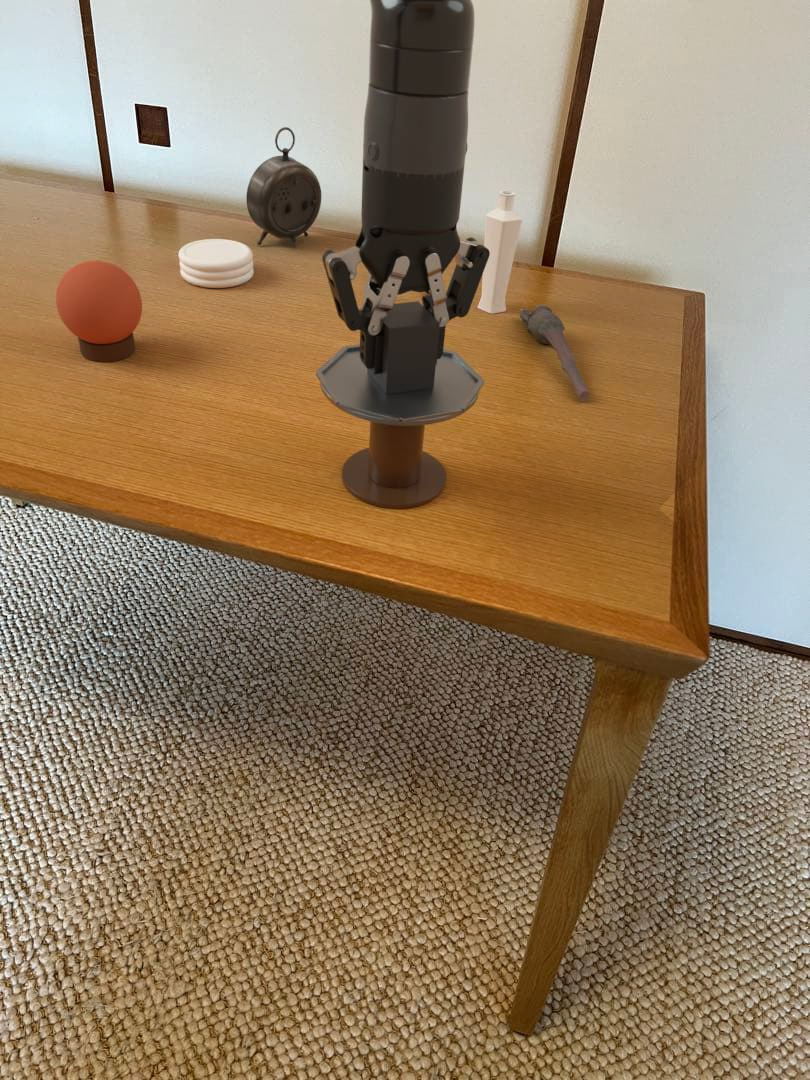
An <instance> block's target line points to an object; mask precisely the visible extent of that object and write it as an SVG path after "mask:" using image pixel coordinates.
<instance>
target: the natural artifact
mask: <svg viewBox="0 0 810 1080" xmlns="http://www.w3.org/2000/svg"><path fill="white" fill-rule="evenodd" d="M519 311H520V312H519V318H520V319H521V320H522V322H523V324H525V325H526V326H528V327H527V328H526V332H527V333H528V334H532V337H533V339H534V340H535V341H537V342H538V343H540V344H547V345H550V344H551V346H552V348H553V349H554V351H555V353H556V355H557V358H558V360H559V362H560V365H561V370H563V371H564V372H565V374H567V377H568V378H569V380H570V382H571V385H572V387H573V389H574V391H575V393H576V395H577V397H578V398H579V401H581V402H583V403H585V402H588V401H589V399H590V395H591V393H590V391H589V389H588V388H587V387H588V386H587V385H586V383H585V382H584V379H583V378H582V375H581V374H580V371H579V369H578V366H577V363H576V358H575V355H574V354H573V352H572V350H571V347H570V345H569V343H568V341H567V339H566V337H565V335H564V330H566V327H565V326H564V323H563V321H562V320H561V318H560V317H559V316H558V315H557V314H555V313H554V312H553V310H552V309H551V308H550V307H548V305H543V304H538V305H536V306H535V308H534V309H532V310H529V309H528V308H526V309H523V308H521V309H520V310H519Z"/></svg>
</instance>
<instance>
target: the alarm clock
mask: <svg viewBox="0 0 810 1080" xmlns="http://www.w3.org/2000/svg"><path fill="white" fill-rule="evenodd" d="M285 130H286V131H288V132H290V134H291V136H292V142H291V146H290V147H289V148H287V147H284V148H282V149H281V148H280V147H279V144H278V138H279V136H280V134H281V133H282V132H283V131H285ZM295 143H296V136H295V133H294V131H293V129H291V128H290V127H287V126H284V127H281V128H280V129H278V131H277V132H276V134H275V138H274V144H275V147H276V149H277V150H278V151H279V152H280V153H282V155H275V156H272V157H270V158H268V159H267V160H264V161H263V162H262V163H260V165H258V167H257V168H256V169H255V170H254V172H253V173H252V175H251V177H250V179H249V182H248V185H247V191H246V196H245V197H246V199H245V200H246V209H247V211H248V215H249V217H250V218H251V220H252V222H253V223H254V224H255V225H256V226H257V227H259V228H260V229H262V233H261V235H260V238H259V240H257V245H258V246H261V245H262V242H263V241H264V240H265V239H266V237H267V236H268V234H270V235H271V236H273V237H274V238H277V239H281V240H290V243H291V246H292V247H293V248H296V247H297V243H296V238H297V237H299V236H301V235H303V236H304V237H306V238H307V237H309V233H308V230H309V229H310V228H311V227H312V225H313V224H314V222H315V221H316V219H317V218H318V216H319V212H320V209H321V205H322V188H321V184H320V181H319V179H318V177H317V175H316V173H315V172H314V171H313V170H312V169H311V168H310V167H308V166H307V165H305V164H304V163H301V162H300V161H298V160H296V159H294V158H293V157H291V156H289V154H290V151H292V150H293V147H294V146H295Z"/></svg>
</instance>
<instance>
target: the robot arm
mask: <svg viewBox="0 0 810 1080" xmlns="http://www.w3.org/2000/svg"><path fill="white" fill-rule="evenodd" d="M369 4H370V11H371V12H370V13H371V17H370V18H371V19H370V30H369V31H370V32H369V54H368V55H369V56H368V57H369V59H368V85H367V87H368V88H367V96H366V104H365V109H364V116H363V117H364V119H363V141H362V142H363V144H362V177H361V179H362V181H361V183H362V184H361V214H360V215H361V228H360V232H359V235H358V237H357V239H356V240H355V244H354V246H352V247H349V248H347V249H343V250H341V251H339V252H336V251H334V250H333V249H327V250H325V252H323V253H322V255H321V256H322V257H321V260H322V264H323V267H324V271H325V275H326V278H327V281H328V285H329V288H330V293H331V295H332V299H333V302H334V305H335V306H334V307H335V309H336V312H337V315H338V317H339V319H341V321H343V322H344V324H345V326H346V327H347V328H348V329H349V331H352V332H356V331H359V344H360V359H361V361H362V363H363V364H364V365H365V367H366V368H367V369H369V371H370V372H371V373H372V374H373V375H375V374H381V372H382V354H383V334H382V333H381V330H382V327H383V324H384V322H385V319H386V316H387V313H388V311H389V310H391V309H392V308H393V305H394V304H395V302H396V300H397V296H399V295H403V294H406V293H408V292H415V293H419V295H420V298H421V302H422V303H421V304H422V306H423V307H424V308H425V309H426V310H427V311H428V312H429V313H431V314H432V315H433V316H434V317H435V318H436V319H437V320H438V321H439V322H440V326H439V336H438V347H437V358H436V365H437V359H440V358H441V356H442V354H443V349H445V348H444V347H445V338H446V327H447V325H448V324H449V322H450V321H451V320H453V319H455V318H457V317H458V318H464V317H466V316H467V315H468V314H469V311H470V309H471V306H472V304H473V301H474V299H475V295H476V293H477V291H478V288H479V285H480V282H481V280H482V278H483V272H484V269H485V266H486V264H487V261H488V258H489V255H490V252H489V250H488V249H487V248H486V247H485V246H484V244H482V243H481V242H479V241H478V240H477V239H476V238H474V237H468V238H466V239H463V238H461V237H460V235H459V233H458V229H457V224H458V222H459V220H460V213H461V203H462V194H463V183H464V175H465V164H466V155H467V152H468V135H469V88H470V77H471V69H472V68H471V67H472V60H473V59H472V57H473V49H474V48H473V46H474V39H475V38H474V37H475V22H476V21H475V18H476V17H475V7H474V4H473V1H472V0H369ZM453 259H454V262H455V264H456V265H455V268H454V270H453V273H452V275H451V277H450V282H449V285H448V287H447V289H446V288H445V282H444V278H443V273H444V272H445V270H446V269H447V268H448V266H449V265H450V263H451V262H452V261H453ZM360 263H362V264H363V266H364V267H365V268H366V270H367V271H368V275H367V278H366V281H365V285H364V288H363V294H364V295H363V297H364V298H363V299H362V303H361V306H360V309H359V306H358V303H357V298H356V295H355V292H354V287H353V284H352V281H353V280H355V278H356V276H357V267H358V265H359V264H360Z"/></svg>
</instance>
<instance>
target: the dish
mask: <svg viewBox="0 0 810 1080" xmlns="http://www.w3.org/2000/svg"><path fill="white" fill-rule="evenodd" d="M315 376H316V377H317V379H318V380H319V387H320V390H321V391H322V393H323V395H324V397H325V398H326V400H327V401H328V402H330V403H331V404H332V405H333V406H334V407H336V408H337V409H339V410H340V411H342V412H344V413H346V414H348V415H350V416H352V417H355V418H358V419H361V420H364V421H367V422H369V440H368V447H367V448H363V449H361V450H358V451H357V452H355V453H353V454H352V455H350V456H349V457H348V458H347V459H346V460H345V462H344V463H343V466H342V469H341V481H342V484H343V485H344V488H345V489H346V490H347V492H349V493H350V494H351V495H352V496H353V497H355V498H356V499H358V500H360V501H361V502H363V503H365V504H368V505H371V506H374V507H378V508H383V509H391V510H392V509H394V510H399V509H400V510H403V509H411V508H416V507H420V506H424V505H426V504H429V503H431V502H432V501H434V500H435V499H437V498H438V497H439V496H440V495H441V494H442V493H443V491H444V489H445V488H446V484H447V472H446V469H445V467H444V466H443V464H442V463H441V462H440V461H439V460H438V459H436V457H434V456H433V455H431V454H429V452H425V451H423V450H424V440H425V439H424V438H425V429H426V428H425V427H426V426H427V425H434V424H439V423H444V422H446V421H450V420H453V419H455V418H457V417H460V416H461V415H463V414H464V413H466V412H468V411H469V410H470V409H471V408H472V407H473V406H474V405H475V404H476V402H477V401H478V398H479V395H480V391H481V389H482V387H483V386H484V384H485V379H484V378H483V377H482V376H481V375H480V374H479V373H478V372H477V371H476V370H475V369H474V368H473V367H472V366H471V364H469V363H468V362H467V361H466V360H465V359H464V357H462V356H461V355H460V354H459V353H458V352H456V351H453V350H449V349H445V348H443V354H442V356H441V358H440V359H437V365H436V368H435V379H434V387H433V388H427V389H421V390H414V391H408V392H401V393H394V394H388V395H386V394H385V393H384V392H383V390H382V389H381V388H380V386H379V385H378V384H377V383H376V381H375V380H374V379H373V377H372V376H371V375H370V374H369V372H368V371H367V368H366V367H365V365H364V364H363V363H362V361H361V359H360V343H359V344H357V343H356V344H349V345H345V346H342V347H341V348H340V349H339V350H338V351H337V352H335V354H334V355H332V356H331V357H330V358H329V359H328V360H327V361H325V362H324V363H323V364H322V365H321V366H320V367H319V368H318V369H317V370H316V371H315Z"/></svg>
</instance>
